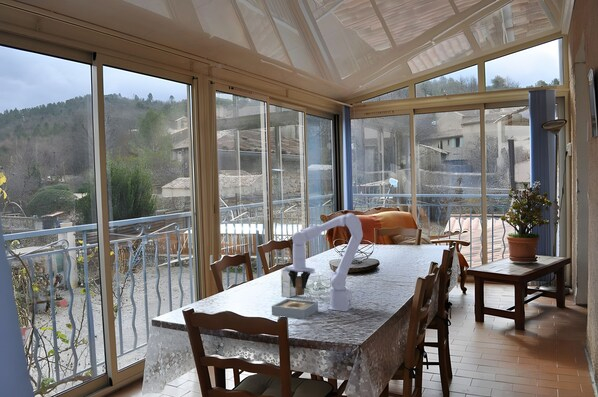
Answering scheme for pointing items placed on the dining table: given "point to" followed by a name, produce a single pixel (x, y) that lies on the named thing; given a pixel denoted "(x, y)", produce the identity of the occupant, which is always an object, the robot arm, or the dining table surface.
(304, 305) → the bore plate
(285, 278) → the syrup box
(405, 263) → the dining table surface
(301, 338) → the dining table surface
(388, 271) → the dining table surface
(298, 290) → the peg
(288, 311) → the open box
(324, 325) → the dining table surface
